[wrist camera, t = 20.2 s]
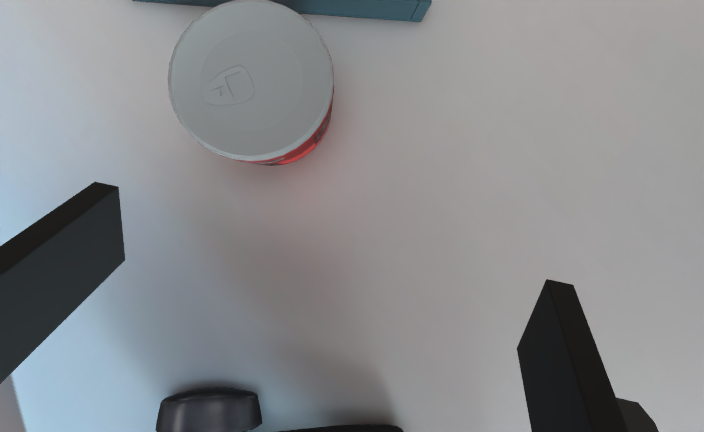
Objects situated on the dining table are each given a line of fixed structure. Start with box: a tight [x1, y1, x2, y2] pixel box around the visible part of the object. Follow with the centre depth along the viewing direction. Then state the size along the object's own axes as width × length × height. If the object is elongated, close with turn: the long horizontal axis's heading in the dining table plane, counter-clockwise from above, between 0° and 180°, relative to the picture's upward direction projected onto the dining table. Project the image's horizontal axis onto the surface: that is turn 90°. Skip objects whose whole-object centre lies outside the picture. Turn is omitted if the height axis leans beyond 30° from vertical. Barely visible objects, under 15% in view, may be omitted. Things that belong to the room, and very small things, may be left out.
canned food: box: [168, 0, 334, 166], centre depth 29 cm, size 8×8×11 cm
